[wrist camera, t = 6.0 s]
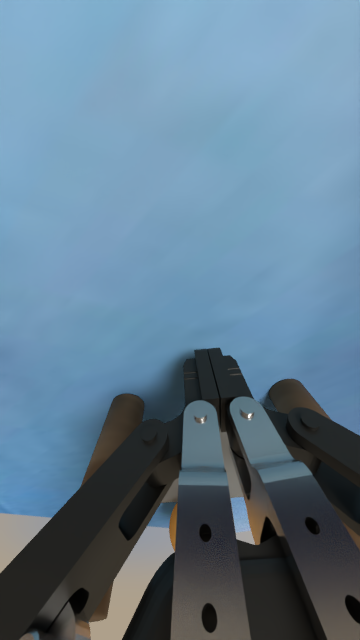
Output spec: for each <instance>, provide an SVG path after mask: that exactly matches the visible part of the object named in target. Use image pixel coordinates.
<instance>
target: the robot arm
mask: <svg viewBox="0 0 360 640" xmlns="http://www.w3.org/2000/svg"><path fill="white" fill-rule="evenodd" d="M194 352H195V359H187V360H186V362H185V364H184V366H183V368H184V387H185V408H184V410H183V412H182V413H181V415H180V416H178V417H177V418H176V419H174V420H172V421H169V422H167V423H165V424H164V423H163V422H161V421H160V420H157V419H150V420H146V421H144V422H142V423H141V424H140V425H139V426H138V427H137V428H136V429H135V430H134V431H133V432H132V433H131V434H130V435H129V436H128V437H127V438H126V439H125V440H124V441H123V443H122V444H121V445H120V446H119V447H118V448H117V449H116V450H115V451H114V452H113V453H112V454H111V455H110V456H109V458H108V459H107V460H106V461H105V462H104V463H103V464H102V465H101V466H100V467H99V468H98V469H97V470H96V471H95V473H94V474H93V475H92V476H91V477H90V478H89V479H88V480H87V481H86V482H85V483H84V484H83V485H82V486H81V488H80V489H79V490H78V491H77V492H76V493H75V494H74V495H73V496H72V497H71V498H70V499H69V500H68V501H67V503H66V504H65V505H64V506H63V507H62V508H61V509H60V510H59V511H58V512H57V513H56V514H55V515H54V516H53V518H52V519H51V520H50V521H49V522H48V523H47V524H46V525H45V526H44V527H43V528H42V529H41V531H39V533H38V534H37V535H36V536H35V537H34V538H33V539H32V540H31V541H30V542H29V543H28V544H27V545H26V546H25V548H24V549H23V550H22V551H21V552H20V553H19V554H18V555H17V556H16V557H15V558H14V559H13V560H12V561H11V563H10V564H9V565H8V566H7V567H6V568H5V569H4V570H3V571H2V572H1V573H0V640H91V639H90V627H89V623H88V622H89V620H90V618H91V617H92V615H93V613H94V612H95V610H96V608H97V607H98V605H99V604H100V602H101V600H102V599H103V597H104V595H105V594H106V592H107V590H108V589H109V587H110V585H111V584H112V582H113V581H114V579H115V577H116V576H117V574H118V572H119V571H120V569H121V567H122V566H123V564H124V562H125V561H126V559H127V558H128V556H129V554H130V553H131V551H132V549H133V548H134V546H135V544H136V543H137V541H138V539H139V538H140V536H141V534H142V533H143V531H144V530H145V528H146V526H147V525H148V523H149V521H150V520H151V518H152V516H153V515H154V513H155V512H156V510H157V508H158V507H159V505H160V503H161V502H162V500H163V498H164V497H165V495H166V493H167V492H168V490H169V489H170V487H171V485H172V483H173V482H174V480H176V479H177V478H179V482H178V502H177V521H176V541H175V552H174V553H173V554H171V555H170V556H169V557H168V558H167V559H166V560H165V561H164V562H163V564H162V565H161V566H160V567H159V569H158V570H157V571H156V573H155V575H154V576H153V578H152V579H151V581H150V583H149V584H148V587H147V589H146V590H145V592H144V595H143V597H142V599H141V601H140V603H139V605H138V607H137V609H136V612H135V613H134V616H133V618H132V620H131V622H130V624H129V626H128V628H127V630H126V632H125V634H124V637H123V638H122V640H360V550H359V548H358V547H357V545H356V543H355V542H354V540H353V539H352V537H351V535H350V534H349V532H348V531H347V529H346V527H345V526H344V524H346V525H347V526H348V527H349V528H350V529H352V530H353V531H354V532H355V533H356V534H357V535H359V536H360V436H359V435H357V434H355V433H354V432H352V431H350V430H348V429H346V428H345V427H343V426H341V425H339V424H337V423H336V422H334V421H332V420H330V419H328V418H327V417H325V416H323V415H321V414H319V413H318V412H316V411H314V410H311V409H308V408H304V407H296V408H293V409H292V410H291V411H290V412H289V414H285V413H280V412H275V411H271V410H268V409H266V408H264V407H262V405H261V404H260V403H259V402H258V401H256V400H254V398H253V396H252V394H251V392H250V390H249V388H248V386H247V383H246V381H245V379H244V377H243V375H242V373H241V370H240V369H239V366H238V364H237V362H236V360H235V359H233V358H232V357H231V356H230V355H228V356H223V355H222V352H221V349H220V348H211V349H201V350H194ZM220 430H221V432H227V436H228V440H229V451H230V455H231V458H232V461H233V464H234V467H235V471H236V474H237V477H238V480H239V483H240V487H241V490H242V493H243V496H244V500H245V503H246V507H247V513H248V519H249V524H250V528H251V531H252V535H253V538H254V541H255V545H252V544H249V543H246V542H243V541H240V540H237V539H236V533H235V526H234V519H233V512H232V506H231V499H230V492H229V485H228V479H227V473H226V470H225V467H224V461H223V454H222V446H221V439H220ZM342 522H343V523H344V524H343V523H342Z"/></svg>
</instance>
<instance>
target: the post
mask: <svg viewBox="0 0 360 640" xmlns="http://www.w3.org/2000/svg"><path fill="white" fill-rule="evenodd" d="M144 407H145V405H144V402H143V400H142V399H141V398H139V397H138V396H136V395H133V394H121V395H118V396H116V397H115V398H114V399H113V401H112V404H111V407H110V409H109V412H108V415H107V417H106V420H105V423H104V425H103V428H102V431H101V433H100V436H99V439H98V441H97V444H96V447H95V450H94V452H93V455H92V458H91V460H90V463H89V466H88V468H87V471H86V474H85V476H84V479H83V482H82V484H81V486H82V485H83V484H84V483H85V482H86V481H87V480H88V479H89V478H90V477H91V476H92V475H93V474H94V473H95V471H96V470H97V469H98V468H99V467H100V466H101V465H102V464H103V463H104V462H105V461H106V460H107V459H108V458H109V456H110V455H111V454H112V453H113V452H114V451H115V450H116V449H117V448H118V447H119V446H120V445H121V444H122V443H123V441H124V440H125V439H126V438H127V437H128V436H129V435H130V434H131V433H132V432H133V431H134V430H135V429H136V428H137V427H138V426H139V425H140V424H141V423H142V418H143V413H144ZM80 488H81V487H80ZM112 586H113V582H112V584H111V585H110V587H109V589H108V590H107V592H106V594H105V595H104V597H103V599H102V600H101V602H100V604H99V605H98V607H97V608H96V610H95V612H94V613H93V615H92V617H91V618H90V620H89V622H94V621H100V620H104V619H106V618H107V614H108V608H109V603H110V597H111V591H112Z"/></svg>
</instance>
